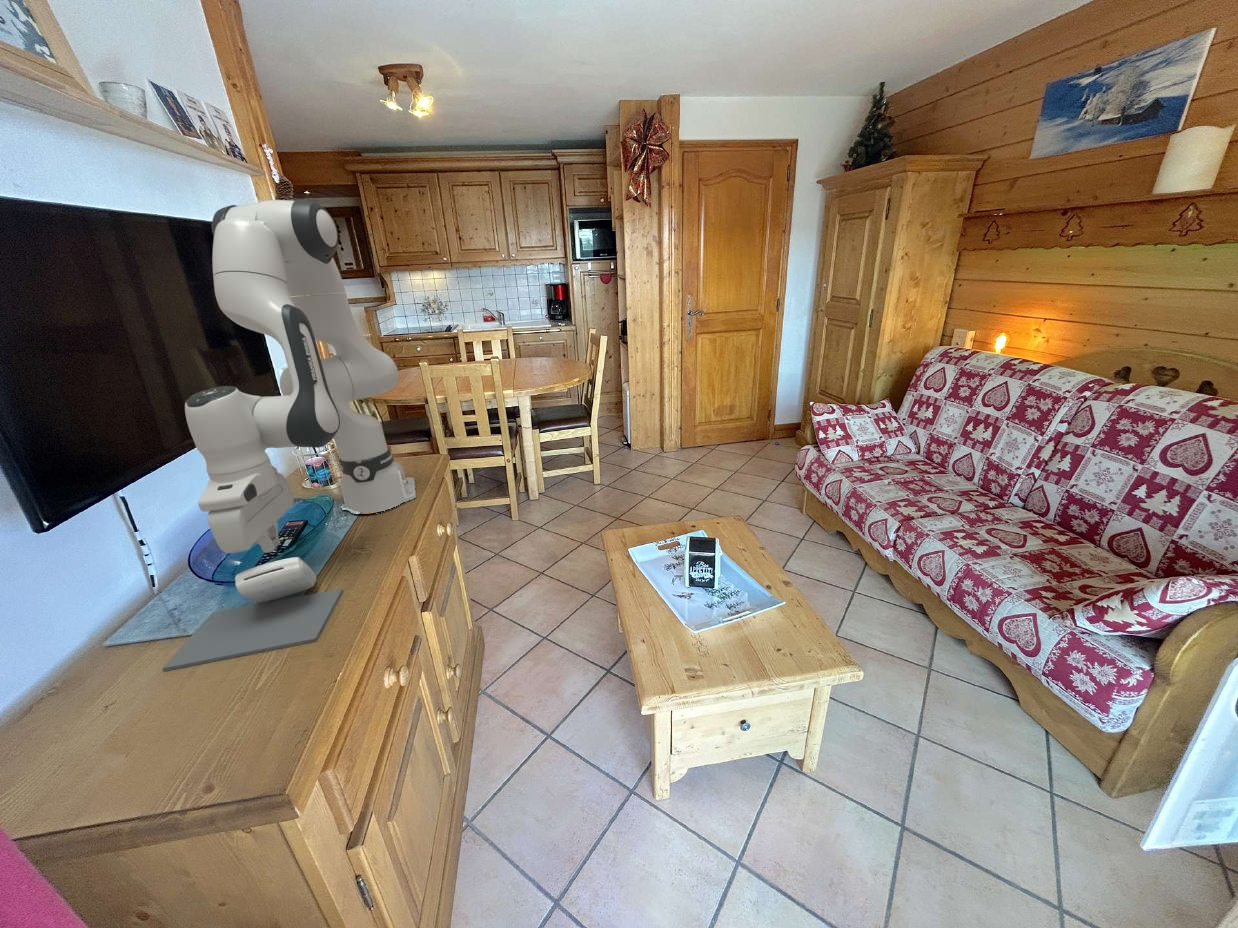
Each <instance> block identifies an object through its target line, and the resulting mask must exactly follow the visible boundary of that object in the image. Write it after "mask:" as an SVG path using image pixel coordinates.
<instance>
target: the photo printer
mask: <svg viewBox="0 0 1238 928" xmlns="http://www.w3.org/2000/svg"><path fill="white" fill-rule="evenodd" d="M234 581H235V583H234V584H235V588H236V590H237V591H238V593H239V594H240V595H241V596H243V597H245V598H247V599H249V600H251V601H253V602H255V603H256V604H260V603H266V602H271V601H276V600H279V599H281V598H284V597H287V596H291V595H295V594H298V593H301V592H303V591H306V590H308V589H311V588H313V587H315V584H316V581H317V575H316V573H315V572H314V571H313V570H312V568H311V567H310V566H309V565H308V564H307V563H306V562H305V561H304V560H303V559H302V558H301V557H298V556H295V557H289V558H284V559H279V560H275V561H274V560H273V561H271V562H267V563H264V564H260V565H257V566H254V567H251V568H249V569H246V570H244V571H241V572H240V573H237V574H236V575H235V577H234Z"/></svg>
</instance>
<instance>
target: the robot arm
mask: <svg viewBox="0 0 1238 928" xmlns="http://www.w3.org/2000/svg"><path fill="white" fill-rule="evenodd" d="M211 232H212V235H213V242H212V257H211V260H212V261H211V262H212V274H213V275H212V277H213V287H214V288H213V289H214V296H215V298H216V302H217V304H218V307H219V309H220V310H221V311H222V313H223V314H224V315H225V316H226V317H227V318H228V319H230V320H231V321H232V322H234V323H235V324H236V325H239V326H240V327H243V328H245V329H248V330H250V331H254V332H256V333H259V334H263V335H267V336H268V337H271V338H273V340H275V341H276V342H277V343H278V344H279V345H280V347H281V348H282V351H283V354H284V358H285V360H286V366H287V367H286V368H284V370H283V371H282V372H281V374H280V378H279V388H280V392H281V394H282V395H276V396H275V395H273V396H272V395H271V396H266V395H265V396H260V395H254V394H253V395H252V394H249V393H245V392H242V391H241V390H239V389H238V388H237V387H236V386H228V385H225V386H217V387H212V388H208V389H204V390H202V391H201V390H200V391H199V392H196V393H194V394H192V395H191V396H190V397H189V398H188V399H187V400H186V401H185V403H184V412H185V418H186V423H187V428H188V430H189V433H190V434H191V437H192V439H193V442H194V445H195V447H196V449H197V451H198V452H199V453H200V454H201V455H202V456H203V458H204V460H205V465H206V467H205V468H206V473H207V474H208V477H209V480H208V481H207V484H206V487H205V489H204V491H203V493H202V494H201V496H200V497H199V499H198V501H197V503H198V504H197V505H198V507H199V510H200V511H201V512H204V513H205V512H208V513H207V519H206V520H207V524H208V526H209V529H210V531H211V533H212V536H213V539H215V542H216V543H217V544H216V545H217V546H218V547H219V549H220V550H221V551H222V552H224V553H226V554H234V553H240V552H245V551H248V550H249V549H251V548H252V546H253V545H255V543H256V544H258V545H259V546H260V548H261V550H262V552H263V553H265V554H267V553H271V552H274V551H275V550H276V548H278V546H279V545H281V541H280V538H279V524H278V520H279V519H280V518H281V517H282V516H283V515H284V514H285V513H286V512H287V511H288V510H290V509H291V507H293V505H294V501H295V500H294V495H293V492H292V491H291V488H290V486H289V484H288V482H287V479H286V478H285V476H284V475H283V473H280V472H278V468H276V467H275V466H273V465H272V462H271V459H270V457H269V455H268V454H267V452H266V449H272V448H273V449H281V448H282V449H283V448H295V447H297V448H298V447H299V448H315V449H316V448H323V447H325V446H327V445H328V444H329V443H330V442H331V441H332V440H334V443H335V446H336V450H337V451H338V455H339V457H340V458H339V467H340V469H341V471H342V474H343V476H342V477H341V478H340V479H339V484H340V488H341V489H340V490H341V492H342V496H343V500H344V502H345V506H346V507H348V508H349V509H352V510H353V511H358V512H379V511H384V512H386V511H385V510H387V509H390V510H392V509H391V508H393V507H395V508H397V507H399V506H401V505H402V504H401V503H403V502H405V503H407V502H410V501H412V500H414V498H415V499H416V498H417V493H416V492H417V490H415V488H416V480H415V478H414V477H410V476H407V477H406V475H405V471H404V469H403V468H404V467H403V466H402V465H401V464H399V463H398V462H396V461H394V456H393V453H392V446H391V444H387V442H386V438H385V437H386V436H385V433H384V430H383V427H382V426H383V425H382V424H381V422H380V421H379V420H378V419H377V418H376V417H375V416H373V415H369V414H366V413H361V412H357V411H353V409H352V407H351V406H350V403H351V402H352V401H353V402H354V401H358V400H363V399H367V398H371V397H376V396H379V395H382V394H384V393H386V392H388V391H391V390H392V389H395V387H396V386H397V384H398V380H399V370H398V367H397V365H396V363H395V361H394V360H393V358H391V356H389V355H388V353H385V352H383V351H381V350H379V349H378V348H376V347H375V346H373V345H372V344H371V343H370V342H369V341H368V340H367V339H366V338H365V336H363V335H362V333H361V331H360V330H359V328H358V326H357V323H356V321H355V318H354V315H353V312H352V310H351V306H350V302H349V300H348V296H347V293H346V288H345V284H344V282H343V278H342V276H341V273H340V270H339V269H338V265H337V264H336V261H335V259H334V257H333V256H334V255H335V253H336V251H337V248H338V244H339V233H338V232H339V231H338V228H337V225H336V222H335V221H334V219H333V216H332V215H331V214H330V212H329V211H328V210H327V209H326V208H325V207H324V206H323V205H322V204H321V203H319V202H317V201H313V200H308V199H296V200H287V199H286V200H284V199H272V200H271V199H270V200H267V199H266V200H263V201H259V202H252V203H245V204H240V205H239V204H237V205H236V204H231V205H227V206H224V207H222V208H220V209H217V210H216V211H215V213H214V214H213V218H212V221H211ZM317 341H318V342H321V343H323V344H324V343H325V344H328V345H331V346H332V348H333V349H334V352H335V354H336V355H335V356H330V357H325V358H323V357H322V358H321V356H320V353H319V348H318V344H317ZM406 478H407V479H406ZM414 480H415V481H414ZM409 500H410V501H409ZM344 502H343V503H344ZM400 504H401V505H400ZM403 504H404V503H403ZM398 505H399V506H398ZM396 506H397V507H396ZM393 509H394V508H393ZM387 511H388V510H387Z"/></svg>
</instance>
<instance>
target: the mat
mask: <svg viewBox="0 0 1238 928" xmlns="http://www.w3.org/2000/svg"><path fill="white" fill-rule="evenodd" d="M343 592H344V589H343V588H338V589H333V590H327V591H323V592H315V593H310V594H306V595H299V596H294V597H288V598H283V599H276V600H271V601H267V602H262V603H256V604H251V605H250V604H249V605H245V606H240V607H234V608H229V609H228V608H227V609H222V610H218V611H212V613H210V615H209V616H208V617H207V618H206V619H205V620H204V621H203V623H202V624H201V625H199V627H198V628H196V630H195V631H194V632H193V634H192V635H191V636H190V637H189V638H188V639H187V640H186V642H184V644H183V645H182V646H181V647H180V648H179V649H178V650H177V651H176V652H175V654H173V656H172V657H171V658H170V659H169V660H168V661H167V662H166V664H165V665H163V667H162V671H163V672H168V671H173V670H179V669H184V668H188V667H192V666H198V665H203V664H208V663H213V662H218V661H224V660H229V659H233V658H238V657H243V656H248V655H254V654H258V653H264V652H268V651H270V652H271V651H275V650H279V649H284V648H288V647H289V648H290V647H295V646H299V645H304V644H309V643H315V642H318V639H319V637H320V635H321V633H322V632H323V630H324V629H325V627H326V624H328V620H329V619H330V617H331V615H332V613H333V611H334V609H335V608H336V606H337V604H338V602H339V600H340V598H341V596H342V594H343Z"/></svg>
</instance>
